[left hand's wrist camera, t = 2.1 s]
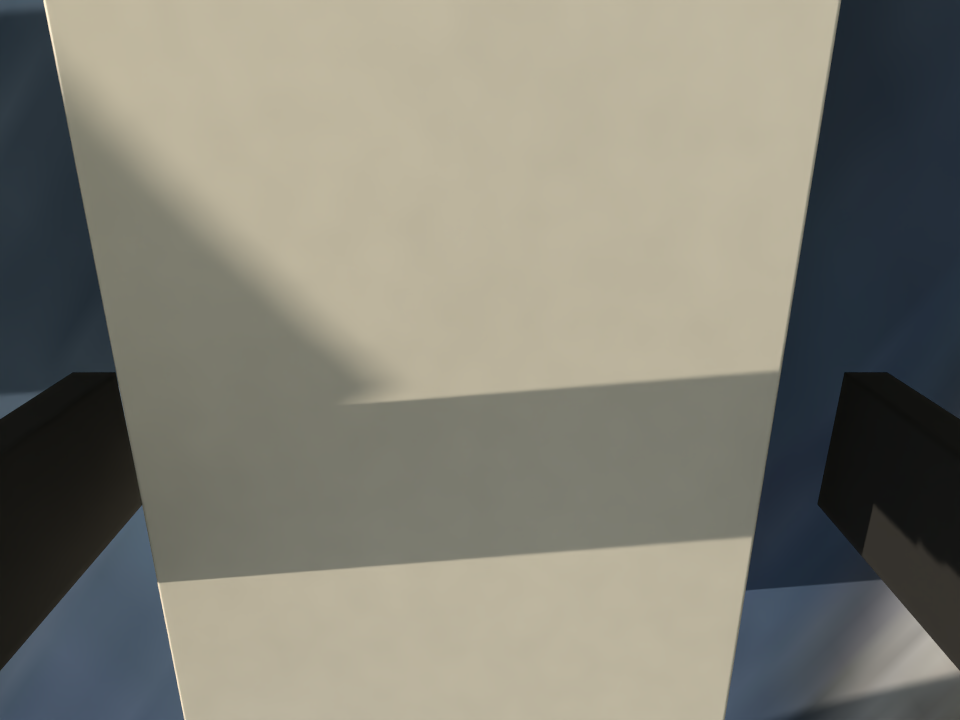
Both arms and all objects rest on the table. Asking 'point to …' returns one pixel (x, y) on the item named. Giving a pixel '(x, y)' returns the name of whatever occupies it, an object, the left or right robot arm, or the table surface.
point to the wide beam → (447, 336)
